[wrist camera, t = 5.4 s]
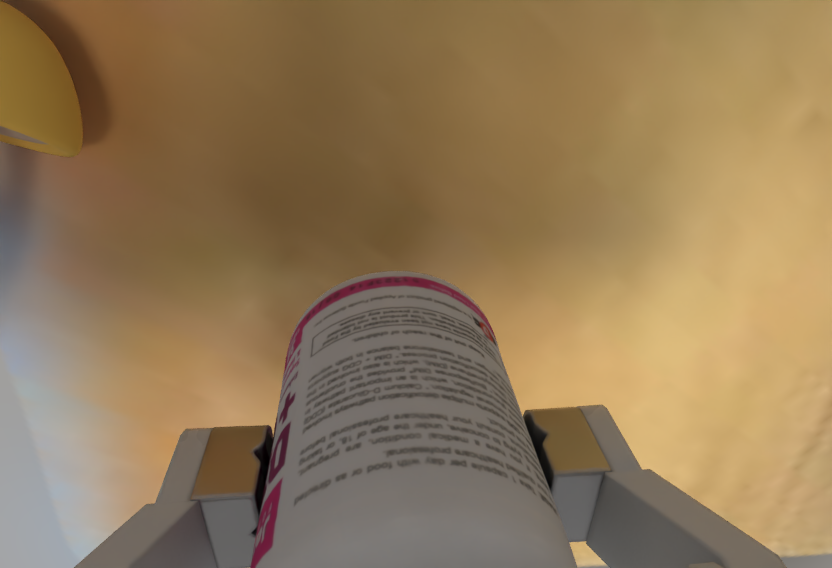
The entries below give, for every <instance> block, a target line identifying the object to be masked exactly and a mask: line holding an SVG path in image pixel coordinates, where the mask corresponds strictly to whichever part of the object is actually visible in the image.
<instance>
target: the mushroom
mask: <svg viewBox="0 0 832 568" xmlns="http://www.w3.org/2000/svg"><path fill="white" fill-rule="evenodd" d="M0 141H2V142H5V143H9V144H12V145H16V146H20V147H23V148H27V149H31V150H35V151H39V152H43V153H48V154H52V155H57V156H64V157H74V156H76V155H78V154H79V152H80V150H81V147H82V141H83V127H82V117H81V111H80V106H79V101H78V97H77V93H76V90H75V87H74V84H73V81H72V78H71V76H70V73H69V71H68V69H67V67H66V65H65V63H64V60H63V59H62V57H61V55H60V53H59V51H58V50H57V48H56V47H55V45H54V44H53V42H52V41H51V40H50V39H49V37H48V36H47V35H46V34H45V33H44V32H43V31H42V30H41V29H40V28H39V27H38V26H37V25H36V24H35V23H34V22H33V21H32V20H31V19H29V18H28V17H27V16H26V15H24V14H23V13H21V12H20V11H19V10H17V9H16V8H14V7H12V6H11V5H9V4H7V3H5V2H3V1H1V0H0Z"/></svg>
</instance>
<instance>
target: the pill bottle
mask: <svg viewBox="0 0 832 568" xmlns="http://www.w3.org/2000/svg"><path fill="white" fill-rule="evenodd" d="M250 568H577V565H576V562H575V559H574V556H573V553H572V550H571V547H570V544H569V541H568V538H567V535H566V532H565V529H564V527H563V524H562V521H561V519H560V516H559V513H558V510H557V508H556V505H555V502H554V500H553V497H552V494H551V492H550V489H549V486H548V484H547V481H546V478H545V476H544V473H543V470H542V468H541V465H540V463H539V460H538V457H537V454H536V452H535V449H534V446H533V444H532V441H531V438H530V435H529V433H528V430H527V427H526V425H525V422H524V419H523V416H522V414H521V411H520V408H519V405H518V403H517V400H516V397H515V394H514V392H513V389H512V386H511V383H510V380H509V378H508V375H507V372H506V369H505V366H504V364H503V361H502V358H501V355H500V351H499V348H498V344H497V341H496V338H495V335H494V332H493V330H492V328H491V326H490V324H489V322H488V320H487V318H486V316H485V315H484V313H483V312H482V310H481V309H480V308H479V306H478V305H477V304H476V303H475V302H474V301H473V300H472V299H471V298H470V297H469V296H468V295H467V294H466V293H464V292H463V291H462V290H460V289H459V288H458V287H456V286H454V285H453V284H451V283H449V282H447V281H445V280H443V279H440V278H437V277H434V276H431V275H427V274H423V273H417V272H410V271H385V272H377V273H370V274H366V275H362V276H358V277H355V278H352V279H349V280H347V281H344V282H342V283H340V284H338V285H336V286H334V287H333V288H331V289H330V290H328V291H326V292H325V293H324V294H322V295H321V296H320V297H319V298H318V299H317V300H315V301H314V302H313V303H312V305H311V306H310V307H309V308H308V309H307V310H306V311H305V313H304V314H303V315H302V317H301V318H300V320H299V321H298V323H297V325H296V327H295V329H294V332H293V334H292V337H291V340H290V343H289V348H288V351H287V356H286V363H285V370H284V375H283V381H282V389H281V395H280V401H279V407H278V413H277V418H276V423H275V430H274V437H273V442H272V447H271V453H270V460H269V464H268V470H267V474H266V481H265V486H264V489H263V496H262V504H261V510H260V516H259V522H258V527H257V532H256V538H255V544H254V548H253V555H252V562H251V567H250Z"/></svg>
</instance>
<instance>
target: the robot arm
mask: <svg viewBox="0 0 832 568" xmlns="http://www.w3.org/2000/svg"><path fill="white" fill-rule="evenodd" d="M523 419H524V422H525V425H526V427H527V430H528V433H529V435H530V438H531V441H532V444H533V446H534V449H535V452H536V454H537V457H538V460H539V463H540V465H541V468H542V470H543V473H544V476H545V478H546V481H547V484H548V486H549V489H550V492H551V494H552V497H553V500H554V502H555V505H556V508H557V510H558V513H559V516H560V519H561V521H562V524H563V527H564V529H565V532H566V535H567V538H568V541H569V542H580V541H587V542H586V544H587V545H588V546H589V547H590V548H591V549H592V550H593V551H594V552H595V553H596V554H597V555H598V556H599V557H600V558H601V559H602V560H603V561H604V562H605V563H606V564H607V565H608V566H609V567H610V568H787V567H786V566H785V565H784V563H783V562H782V560H781V559H780V557H779V556H778V555H777V554H775V553H774V552H772V551H771V550H769V549H768V548H766V547H765V546H764V545H762V544H761V543H759V542H758V541H756V540H755V539H753V538H752V537H750V536H749V535H747V534H746V533H744V532H743V531H741V530H740V529H738V528H737V527H735V526H734V525H732V524H731V523H729V522H728V521H726V520H725V519H723V518H722V517H720V516H719V515H717V514H716V513H714V512H713V511H711V510H710V509H708V508H707V507H705V506H704V505H702V504H701V503H699V502H698V501H696V500H695V499H693V498H692V497H690V496H689V495H687V494H686V493H684V492H683V491H681V490H680V489H678V488H677V487H675V486H674V485H673V484H671V483H670V482H668V481H667V480H665V479H664V478H662V477H661V476H659V475H658V474H656V473H655V472H653V471H652V470H650V469H647V470H642V469H641V467H640V465H639V463H638V462H637V460H636V458H635V456H634V455H633V453H632V451H631V449H630V448H629V446H628V444H627V442H626V441H625V439H624V437H623V436H622V434H621V432H620V430H619V429H618V427H617V425H616V423H615V422H614V420H613V418H612V416H611V415H610V413H609V411H608V409H607V408H606V407H605V406H603V405H589V406H577V407H563V408H548V409H533V410H526V411H525V413H524V415H523ZM272 442H273V434H272V429H271V427H270V426H269V425H263V426H234V427H214V428H193V429H185V431H184V432H183V433H182V434H181V435H180V438H179V440H178V443H177V446H176V448H175V451H174V454H173V456H172V459H171V462H170V465H169V467H168V470H167V473H166V475H165V478H164V481H163V483H162V486H161V489H160V492H159V494H158V497H157V500H156V502H155V504H146V505H145V506H144V507H142V508H141V509H140V510H139V511H138V512H137V513H136V514H134V515H133V516H132V517H131V518H130V519H129V520H128V521H126V522H125V523H124V524H123V525H122V526H121V527H120V528H118V529H117V530H116V531H115V532H114V533H113V534H112V535H111V536H109V537H108V538H107V539H106V540H105V541H104V542H103V543H101V544H100V545H99V546H98V547H97V548H96V549H95V550H93V551H92V552H91V553H90V554H89V555H88V556H87V557H85V558H84V559H83V560H82V561H81V562H80V563H79V564H77V565H76V566H75V567H74V568H249V567H251V562H252V555H253V548H254V544H255V538H256V532H257V527H258V522H259V516H260V510H261V504H262V496H263V489H264V486H265V481H266V474H267V470H268V464H269V460H270V453H271V447H272Z"/></svg>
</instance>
